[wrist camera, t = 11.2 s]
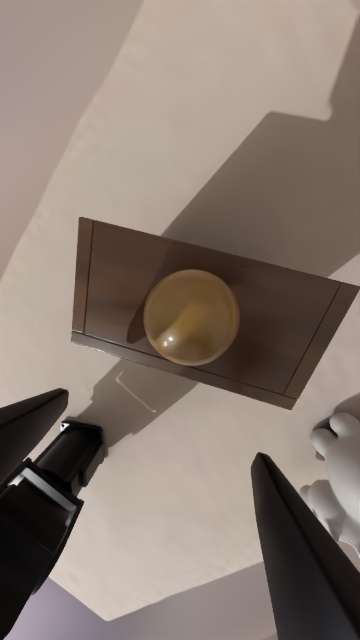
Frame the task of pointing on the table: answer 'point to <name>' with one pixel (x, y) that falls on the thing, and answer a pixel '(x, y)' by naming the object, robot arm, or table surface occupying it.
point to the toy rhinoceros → (338, 480)
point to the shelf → (258, 290)
